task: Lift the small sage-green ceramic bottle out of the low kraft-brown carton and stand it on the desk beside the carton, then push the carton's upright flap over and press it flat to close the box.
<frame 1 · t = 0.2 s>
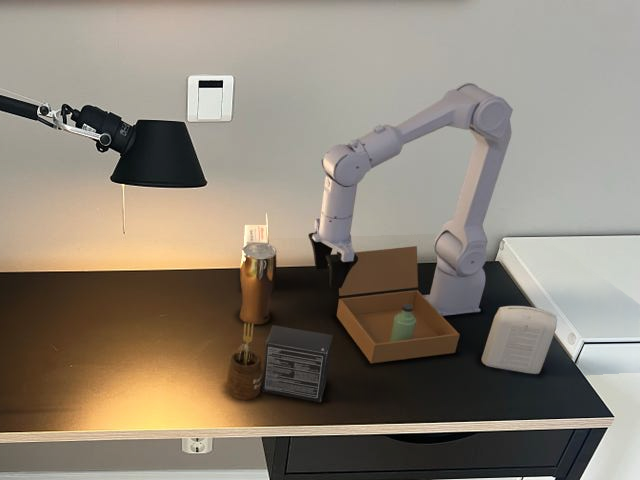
hand: (328, 277, 145), 10 cm above the table, tool pointing down, fingers open, 7 cm apart
utensil holder: (243, 391, 133), on the table
small box: (294, 388, 134), on the table
carton: (393, 335, 147), on the table
flap: (378, 270, 150), point 9 cm above the table, hinge at 115.0°
beer glass: (254, 317, 153), on the table
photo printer: (510, 366, 138), on the table
bottle: (400, 341, 144), resting on carton
ink cartridge box: (253, 282, 165), on the table
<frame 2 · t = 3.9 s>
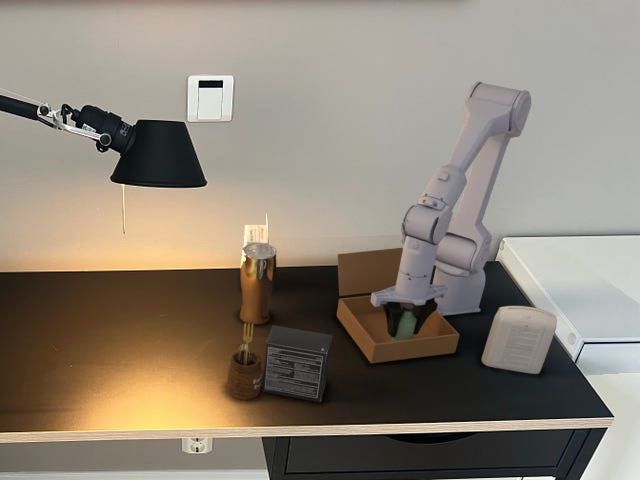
hand: (402, 333, 143), 2 cm above the table, tool pointing down, fingers closed on bottle, 4 cm apart
bottle: (400, 341, 144), resting on carton, touching gripper
everything else where it was.
when the fingers open (2 cm above the table, at t = 8.5 s): bottle stays where it is, on the table.
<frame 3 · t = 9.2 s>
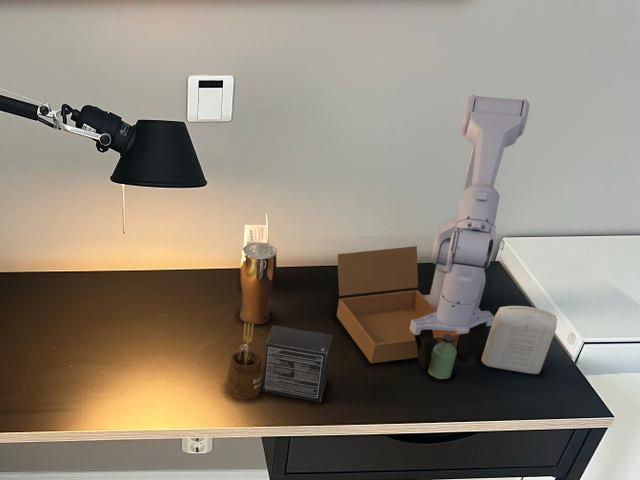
hand: (442, 361, 135), 3 cm above the table, tool pointing down, fingers open, 7 cm apart
bottle: (439, 373, 136), on the table
everything else where it was.
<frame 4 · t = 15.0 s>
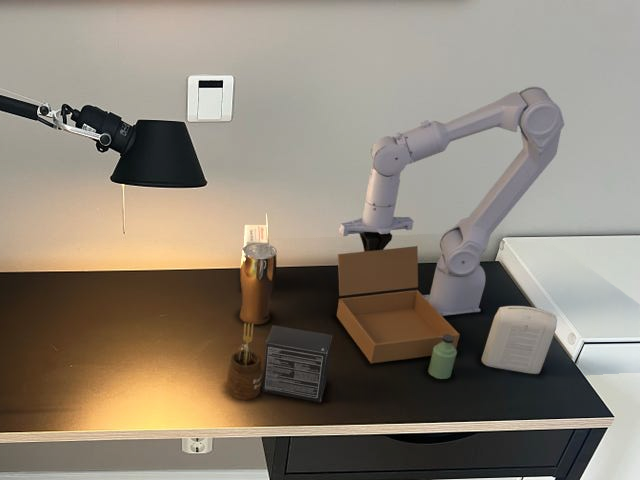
hand: (370, 263, 153), 8 cm above the table, tool pointing down, fingers closed, pressing on flap
flap: (378, 270, 150), point 9 cm above the table, hinge at 113.2°, touching gripper
everything else where it was.
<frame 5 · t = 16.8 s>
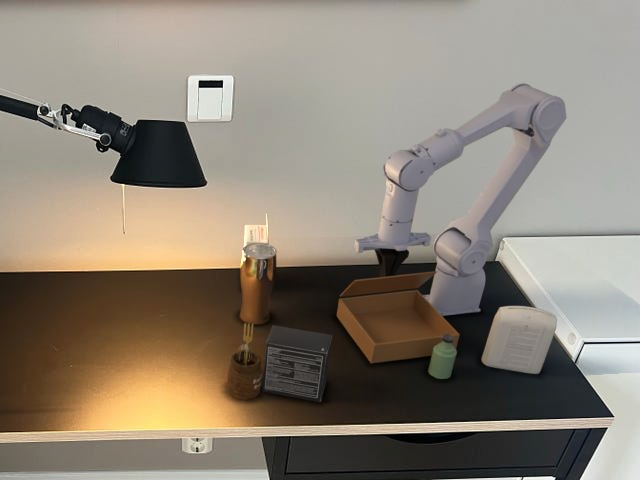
hand: (385, 280, 147), 8 cm above the table, tool pointing down, fingers closed, pressing on flap
flap: (387, 284, 147), point 8 cm above the table, hinge at 50.5°, touching gripper
everything else where it was.
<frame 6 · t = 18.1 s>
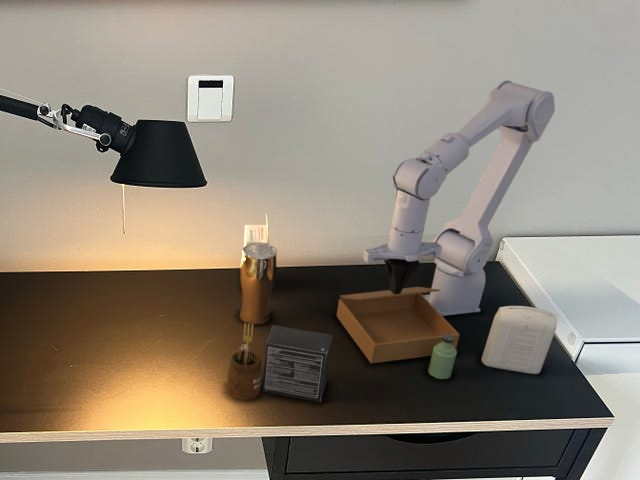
hand: (394, 291, 144), 8 cm above the table, tool pointing down, fingers closed, pressing on flap
flap: (388, 293, 147), point 7 cm above the table, hinge at 25.7°, touching gripper
everything else where it was.
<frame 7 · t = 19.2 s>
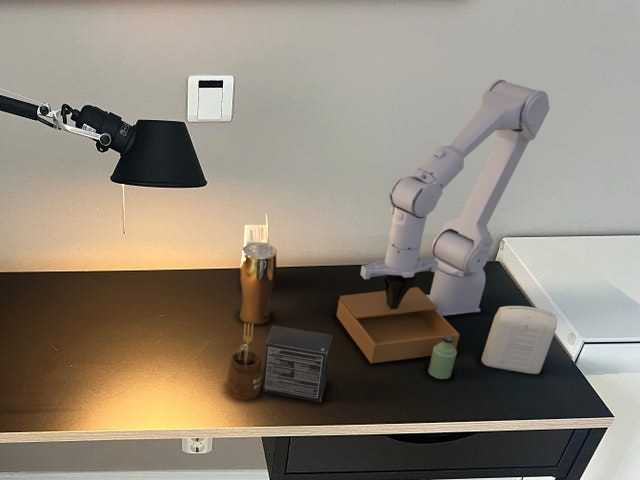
hand: (391, 306, 146), 5 cm above the table, tool pointing down, fingers closed, pressing on flap
flap: (388, 302, 147), point 5 cm above the table, hinge at 0.1°, touching gripper
everything else where it was.
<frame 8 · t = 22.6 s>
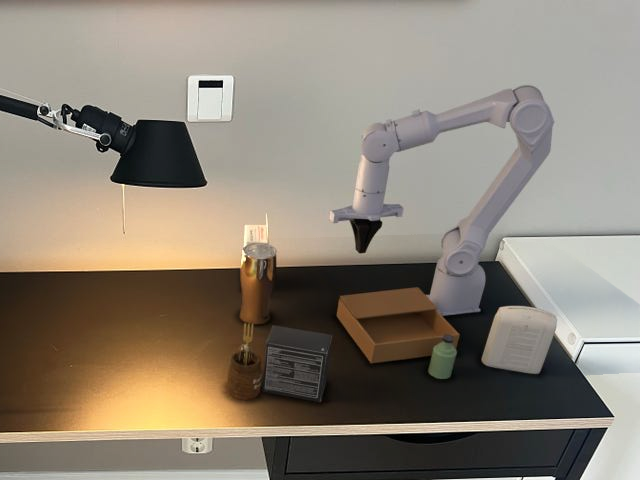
hand: (360, 251, 153), 10 cm above the table, tool pointing down, fingers closed
flap: (388, 302, 147), point 5 cm above the table, hinge at -0.4°
everything else where it was.
at the end: bottle 0.0 cm from the target spot, on the table; bottle tilted 0°; flap at +0° (first picture: +115°) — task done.
